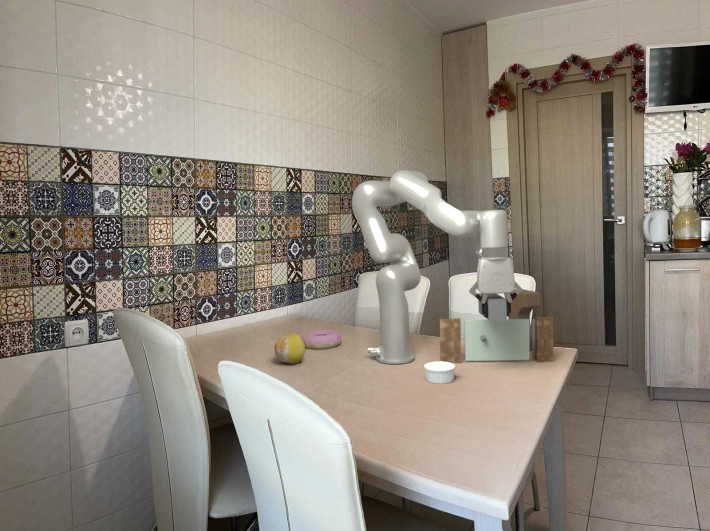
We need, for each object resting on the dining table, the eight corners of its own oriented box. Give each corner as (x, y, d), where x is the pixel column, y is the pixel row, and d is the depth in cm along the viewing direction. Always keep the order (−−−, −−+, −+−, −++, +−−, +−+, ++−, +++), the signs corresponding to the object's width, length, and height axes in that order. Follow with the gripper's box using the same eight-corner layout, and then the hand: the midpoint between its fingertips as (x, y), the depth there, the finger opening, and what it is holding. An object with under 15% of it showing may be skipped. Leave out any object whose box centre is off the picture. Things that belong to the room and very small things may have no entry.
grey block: (489, 320, 148) (488, 299, 147) (478, 312, 161) (478, 293, 160) (506, 319, 148) (506, 298, 147) (494, 311, 161) (494, 292, 160)
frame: (441, 363, 167) (440, 320, 166) (440, 361, 169) (439, 318, 168) (553, 361, 164) (553, 318, 163) (551, 359, 166) (551, 316, 165)
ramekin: (448, 386, 144) (448, 371, 144) (419, 382, 149) (418, 367, 149) (459, 377, 152) (459, 363, 151) (431, 374, 157) (431, 359, 156)
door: (466, 362, 165) (465, 322, 164) (465, 359, 168) (464, 320, 167) (537, 361, 163) (537, 320, 162) (534, 358, 166) (534, 318, 165)
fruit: (292, 357, 181) (291, 329, 180) (312, 362, 173) (311, 333, 172) (268, 364, 174) (266, 334, 173) (287, 369, 166) (286, 339, 165)
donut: (335, 339, 206) (335, 326, 206) (347, 347, 192) (346, 334, 191) (297, 343, 201) (296, 331, 201) (305, 352, 187) (305, 339, 186)
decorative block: (541, 350, 178) (540, 292, 176) (526, 352, 176) (526, 293, 175) (521, 343, 189) (521, 288, 187) (507, 344, 187) (507, 289, 185)
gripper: (465, 255, 145) (467, 319, 147) (528, 252, 144) (529, 317, 145) (462, 253, 153) (464, 314, 154) (522, 251, 151) (523, 312, 153)
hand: (496, 315), depth 150 cm, fingers closed on grey block, 5 cm apart
